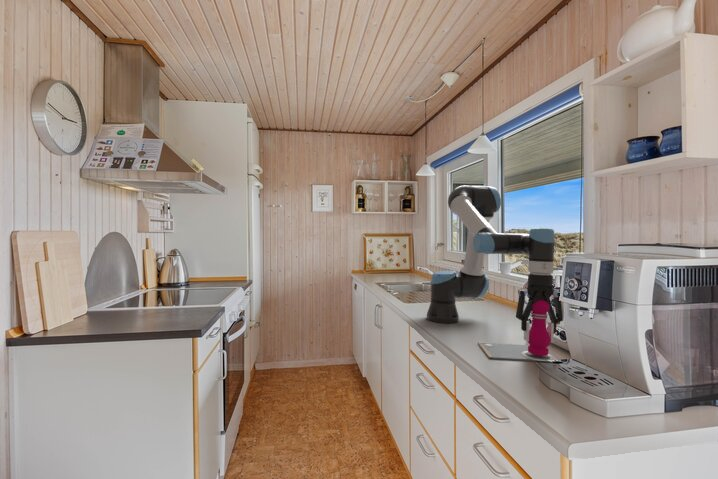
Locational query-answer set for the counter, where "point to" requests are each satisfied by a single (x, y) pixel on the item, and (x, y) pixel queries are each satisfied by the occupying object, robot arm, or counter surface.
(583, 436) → the counter surface
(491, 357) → the slate
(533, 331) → the pepper mill
